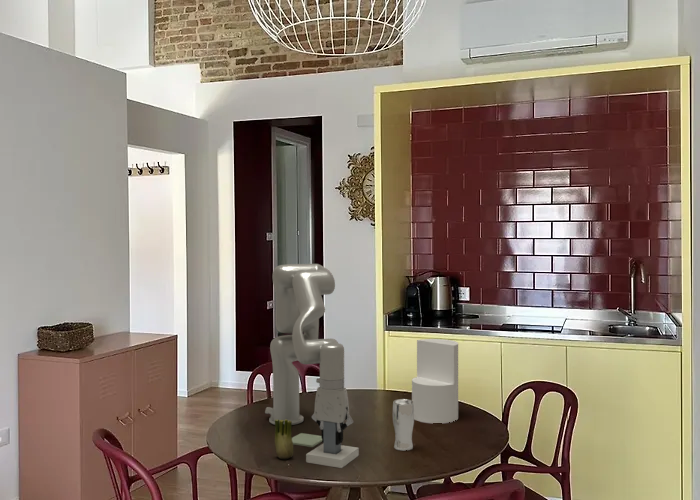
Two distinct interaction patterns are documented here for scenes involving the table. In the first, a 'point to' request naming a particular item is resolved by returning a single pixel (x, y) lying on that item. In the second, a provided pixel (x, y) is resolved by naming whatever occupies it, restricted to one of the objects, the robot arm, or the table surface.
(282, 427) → the fennel bulb
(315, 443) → the sage mat
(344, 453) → the white square hole board
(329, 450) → the slate plug
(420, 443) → the table surface
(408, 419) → the beer glass
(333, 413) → the robot arm
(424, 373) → the grey stepped cylindrical piece
